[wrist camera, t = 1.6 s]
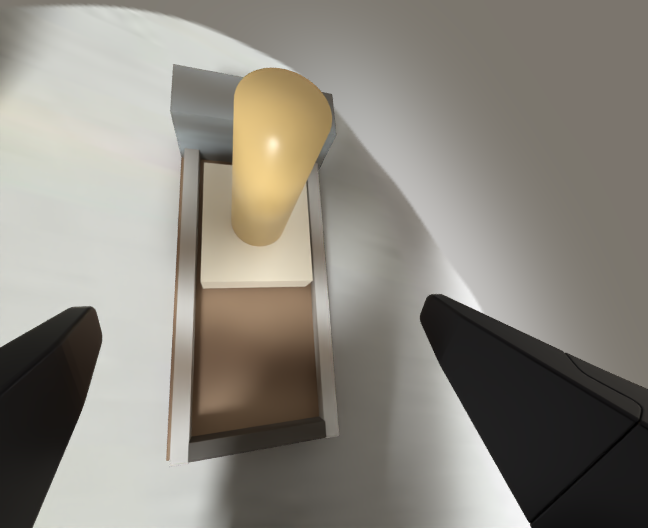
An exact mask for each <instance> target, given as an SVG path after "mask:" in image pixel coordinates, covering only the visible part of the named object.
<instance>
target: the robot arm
mask: <svg viewBox="0 0 648 528" xmlns="http://www.w3.org/2000/svg"><path fill="white" fill-rule="evenodd" d="M420 322H421V324H422V326H423V329H424V331H425V333H426V335H427V338H428V340H429V342H430V344H431V347H432V349H433V351H434V353H435V356H436V358H437V360H438V362H439V364H440V366H441V368H442V370H443V371H444V373H445V375H446V377H447V379H448V380H449V382H450V384H451V386H452V387H453V389H454V391H455V393H456V394H457V396H458V398H459V400H460V402H461V403H462V405H463V407H464V409H465V410H466V412H467V414H468V416H469V417H470V419H471V421H472V423H473V425H474V426H475V428H476V430H477V432H478V433H479V435H480V437H481V439H482V441H483V442H484V444H485V446H486V448H487V449H488V451H489V453H490V455H491V456H492V458H493V460H494V462H495V464H496V465H497V467H498V469H499V471H500V472H501V474H502V476H503V478H504V480H505V481H506V483H507V485H508V487H509V488H510V490H511V492H512V494H513V495H514V497H515V499H516V501H517V503H518V504H519V506H520V508H521V510H522V511H523V513H524V515H525V517H526V518H527V520H528V522H529V523H530V526H531V528H648V389H646V388H644V387H642V386H639V385H637V384H635V383H632V382H630V381H628V380H625V379H623V378H621V377H619V376H616V375H614V374H612V373H610V372H607V371H605V370H603V369H601V368H598V367H596V366H594V365H592V364H590V363H587V362H585V361H583V360H581V359H579V358H576V357H574V356H572V355H570V354H568V353H564V352H563V351H561V350H559V349H557V348H555V347H553V346H551V345H549V344H546V343H544V342H542V341H540V340H538V339H536V338H534V337H532V336H530V335H527V334H525V333H523V332H521V331H519V330H517V329H515V328H513V327H511V326H508V325H506V324H504V323H502V322H500V321H498V320H495V319H493V318H491V317H489V316H487V315H485V314H483V313H481V312H479V311H476V310H474V309H472V308H470V307H468V306H466V305H464V304H462V303H459V302H457V301H455V300H453V299H451V298H449V297H447V296H445V295H442V294H431V295H429V296H428V297H427V298H426V301H425V303H424V306H423V308H422V311H421V314H420ZM101 344H102V331H101V328H100V324H99V320H98V316H97V313H96V310H95V309H94V308H93V307H91V306H83V307H71V308H68V309H67V310H65V311H63V312H61V313H60V314H58V315H56V316H54V317H53V318H51V319H49V320H47V321H46V322H44V323H42V324H40V325H39V326H37V327H35V328H33V329H32V330H30V331H28V332H26V333H25V334H23V335H21V336H19V337H18V338H16V339H14V340H12V341H11V342H9V343H7V344H5V345H4V346H2V347H0V528H33V525H34V523H35V521H36V518H37V516H38V514H39V511H40V509H41V507H42V504H43V502H44V499H45V497H46V495H47V492H48V490H49V488H50V485H51V483H52V480H53V478H54V476H55V473H56V471H57V469H58V466H59V464H60V461H61V459H62V457H63V454H64V452H65V450H66V447H67V445H68V443H69V440H70V438H71V435H72V433H73V431H74V428H75V426H76V424H77V421H78V419H79V416H80V414H81V411H82V409H83V406H84V403H85V400H86V397H87V393H88V390H89V386H90V383H91V379H92V376H93V372H94V369H95V365H96V362H97V358H98V355H99V351H100V348H101Z"/></svg>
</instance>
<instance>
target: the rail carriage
mask: <svg viewBox="0 0 648 528" xmlns="http://www.w3.org/2000/svg"><path fill="white" fill-rule="evenodd" d="M331 126H332V113H331V109H330V106H329V104H328V101H327V99H326V98H325V96H324V95H323V93H322V92H321V91H320V90H319V89H318V88H317V86H315V85H314V84H313V83H312V82H310V81H309V80H308V79H306V78H305V77H303V76H301V75H299V74H297V73H295V72H292V71H289V70H286V69H280V68H263V69H259V70H256V71H253V72H251V73H249V74H248V75H246V76H245V77H244V78H243V79H242V80H241V81H240V82H239V84H238V86H237V88H236V90H235V94H234V118H233V163H232V165H224V164H214V163H204V181H203V215H202V250H201V284H202V287H203V289H204V288H256V287H305V286H307V285H308V284H309V283H310V282H312V281H313V277H312V262H311V247H310V232H309V217H308V202H307V187H306V181H307V179H308V177H309V175H310V173H311V171H312V169H313V167H314V164H315V162H316V160H317V158H318V156H319V154H320V152H321V149H322V147H323V145H324V143H325V141H326V139H327V137H328V134H329V132H330V130H331Z"/></svg>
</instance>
